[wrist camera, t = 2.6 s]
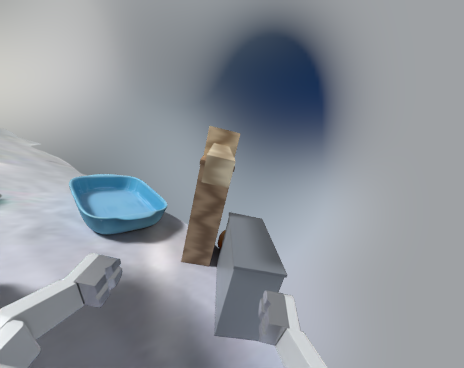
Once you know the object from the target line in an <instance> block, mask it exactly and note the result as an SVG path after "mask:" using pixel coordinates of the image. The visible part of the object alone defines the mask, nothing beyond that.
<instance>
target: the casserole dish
mask: <svg viewBox="0 0 464 368" xmlns="http://www.w3.org/2000/svg"><path fill="white" fill-rule="evenodd" d="M69 187H70V190H71V192H72V195H73V197H74V199H75V202H76V204H77V207H78V209H79V211H80V214H81V216H82V218H83V220H84V221H85V223H86V224H87V226H88V227H89V228H91V229H92V230H93V231H95V232H97V233H101V234H116V233H122V232H127V231H131V230H136V229H141V228H145V227H149V226H151V225H154V224H155V223H157V222H158V221H159V220H160V218H161V217H162V215H163V213H164V211H165V209H166V208H167V203H166V201H165V200H164V199H163V198H162V197H161V196H160V195H159V194H157V193H156V192H155V191H154V190H153V189H152V188H150V187H149V186H148V185H147V184H146V183H145V182H143V181H142V180H140V179H138V178H135V177H131V176H120V175H112V174H109V175H108V174H97V175H90V176H81V177H76V178H73V179H71V180H70V182H69Z"/></svg>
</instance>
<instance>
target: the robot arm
mask: <svg viewBox="0 0 464 368" xmlns="http://www.w3.org/2000/svg"><path fill="white" fill-rule="evenodd" d="M120 264H121V261H120V259H117V258H112V257H108V256H103V255H100V254H95V253H91V254H89V255H87V256H86V257H85V258H84V259H83V260H82V261H81V262H80V263H79V264H78V265H77V266H76V267H75V268H74V269H73V270H72V271H71V272H70V273H69V274H68V275H67V276H66V277H65V278H64V279H63V280H58V281H56V282H54V283H52V284H50V285H48V286H46V287H44V288H42V289H40V290H38V291H36V292H34V293H32V294H29V295H27V296H25V297H23V298H21V299H19V300H17V301H15V302H13V303H11V304H9V305H7V306H5V307H3V308H1V309H0V368H28V367H29V365H30V364H31V363H32V362H33V360H34V359H35V358H36V357H37V355H38V354H39V353H40V352H41V347H40V346H39V344H38V343H37V341H36V340H37V339H38V338H39V337H41V336H42V335H44V334H45V333H46V332H48V331H49V330H51V329H52V328H53V327H55V326H56V325H58V324H59V323H60V322H62V321H63V320H65V319H66V318H67V317H69V316H70V315H72V314H73V313H75V312H76V311H77V310H79V309H80V308H82V307H83V306H84V305H89V306H94V307H100V308H101V306H102V305H103V304H104V302H105V301H106V299H107V298H108V296H109V295H110V289H112V288H114V287H115V286H116V285H117V283H118V282H119V280H120V278H121V275H122V268H121V267H120V266H119V265H120ZM259 319H260V321H261V323H260V325H259V342H262V343H266V344H270V345H274V346H275V347H276V350H277V352H278V354H279V356H280V358H281V360H282V363H283V365H284V367H285V368H327V366H326V364H325V363H324V361H323V360H322V358H321V357H320V356H319V354H318V353H317V351H316V350H315V348H314V347H313V345H312V344H311V342H310V341H309V339H308V338H307V336H306V335H305V333H304V332H302V331H301V330H300V325H299V320H298V316H297V310H296V306H295V300H294V298H293V296H291V295H286V294H283V293H278V292H272V291H267V290H265V291H264V293H263V298H261V300H260V303H259Z"/></svg>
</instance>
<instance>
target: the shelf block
mask: <svg viewBox="0 0 464 368" xmlns="http://www.w3.org/2000/svg"><path fill="white" fill-rule="evenodd" d="M203 156H204V155H203ZM205 162H206V157H202V158H201V160H200V164H201V165H200V170H199V175H198V180H197V185H196V191H195V195H194V200H193V205H192V210H191V215H190V220H189V225H188V230H187V235H186V240H185V245H184V250H183V255H182V261H181V262H186V263H192V264H198V265H204V266H209V265H210V261H211V257H212V253H213V249H214V245H215V241H216V237H217V233H218V229H219V225H220V221H221V217H222V213H223V209H224V205H225V201H226V197H227V193H228V189H229V188H226V187H222V186H217V185H212V184H208V183H203V182H201V181H202V176H203V172H204V167H205ZM234 169H235V166H234ZM234 169H233V172H234Z"/></svg>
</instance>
